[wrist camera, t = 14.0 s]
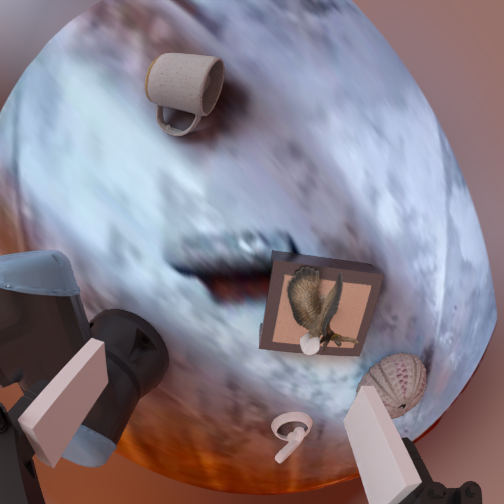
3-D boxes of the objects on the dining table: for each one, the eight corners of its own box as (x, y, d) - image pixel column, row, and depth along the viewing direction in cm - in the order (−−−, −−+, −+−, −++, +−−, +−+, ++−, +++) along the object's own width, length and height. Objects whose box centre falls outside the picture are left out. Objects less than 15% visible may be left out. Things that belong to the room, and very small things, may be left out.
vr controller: (253, 422, 39) (292, 441, 35) (288, 399, 49) (320, 412, 45) (244, 454, 39) (279, 472, 35) (278, 428, 49) (308, 442, 45)
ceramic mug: (172, 63, 32) (154, 41, 25) (228, 71, 32) (220, 48, 25) (149, 131, 35) (124, 122, 27) (205, 143, 35) (190, 134, 28)
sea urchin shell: (425, 339, 41) (447, 364, 33) (411, 396, 44) (427, 422, 36) (355, 355, 41) (370, 385, 34) (349, 411, 44) (359, 442, 37)
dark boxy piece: (349, 338, 40) (359, 357, 35) (259, 330, 40) (259, 350, 35) (370, 264, 38) (384, 275, 33) (272, 250, 38) (273, 260, 33)
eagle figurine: (366, 319, 33) (351, 258, 29) (352, 364, 28) (334, 303, 24) (311, 319, 37) (290, 264, 34) (291, 359, 32) (263, 303, 29)
